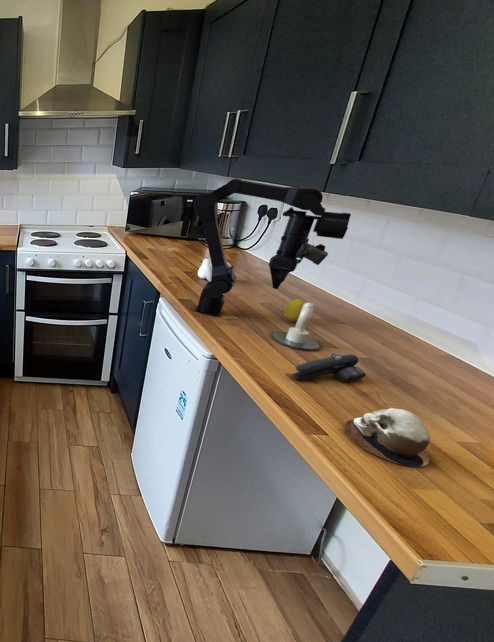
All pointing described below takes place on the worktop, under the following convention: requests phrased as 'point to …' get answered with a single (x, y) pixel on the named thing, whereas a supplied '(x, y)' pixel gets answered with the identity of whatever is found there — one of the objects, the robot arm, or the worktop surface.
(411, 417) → the skull
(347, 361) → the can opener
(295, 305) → the lemon
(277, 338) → the coaster
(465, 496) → the worktop surface
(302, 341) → the pestle
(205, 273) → the white rounded lump
